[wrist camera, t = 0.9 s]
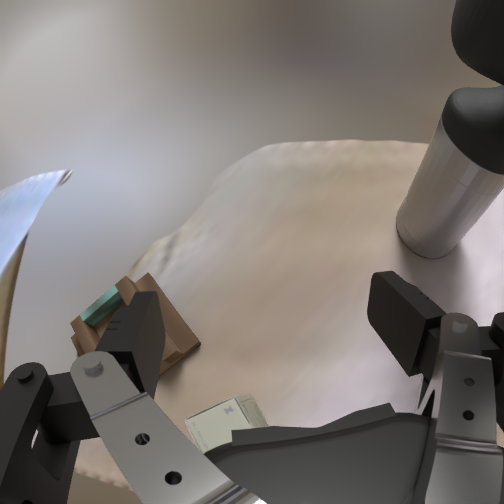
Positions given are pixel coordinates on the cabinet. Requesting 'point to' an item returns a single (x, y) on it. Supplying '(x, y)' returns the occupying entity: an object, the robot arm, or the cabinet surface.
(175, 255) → the cabinet surface
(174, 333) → the rack
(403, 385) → the cabinet surface
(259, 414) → the skincare box
